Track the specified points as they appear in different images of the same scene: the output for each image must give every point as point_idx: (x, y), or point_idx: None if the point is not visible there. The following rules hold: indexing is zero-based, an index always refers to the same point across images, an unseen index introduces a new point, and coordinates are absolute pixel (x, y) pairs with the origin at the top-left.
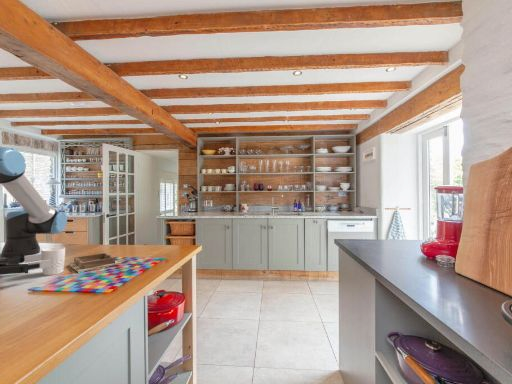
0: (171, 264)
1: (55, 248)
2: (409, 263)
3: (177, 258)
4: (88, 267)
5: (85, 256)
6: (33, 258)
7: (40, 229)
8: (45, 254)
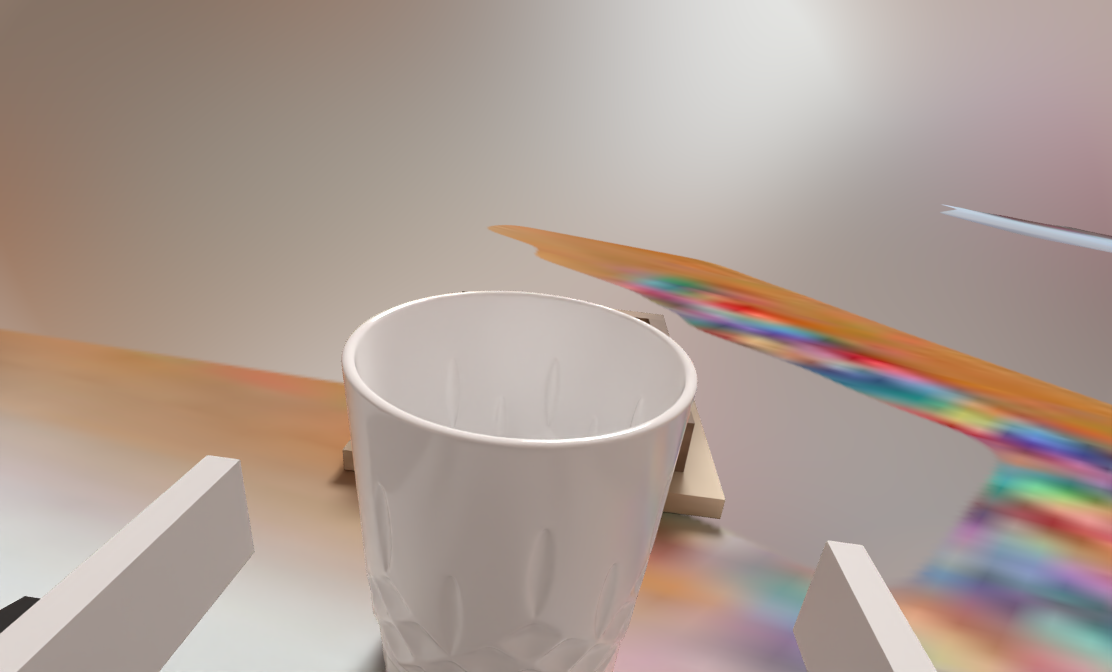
0: (806, 301)
1: (397, 333)
2: (1027, 225)
3: (714, 271)
4: None
5: None
6: (107, 661)
7: None
8: (634, 491)
